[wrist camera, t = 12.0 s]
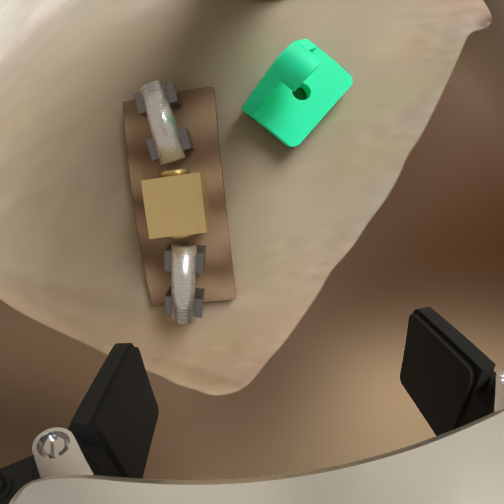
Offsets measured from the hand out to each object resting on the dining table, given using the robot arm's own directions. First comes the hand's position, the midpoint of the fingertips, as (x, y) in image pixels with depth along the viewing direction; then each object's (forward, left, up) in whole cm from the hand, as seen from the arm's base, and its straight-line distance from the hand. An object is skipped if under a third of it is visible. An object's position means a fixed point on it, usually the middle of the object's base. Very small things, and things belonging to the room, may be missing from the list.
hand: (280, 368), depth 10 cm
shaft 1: (-12, -8, -29) cm, 32 cm away
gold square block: (-3, -7, -29) cm, 30 cm away
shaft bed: (-3, -8, -30) cm, 31 cm away
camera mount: (-14, +8, -31) cm, 35 cm away
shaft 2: (+6, -8, -29) cm, 31 cm away
